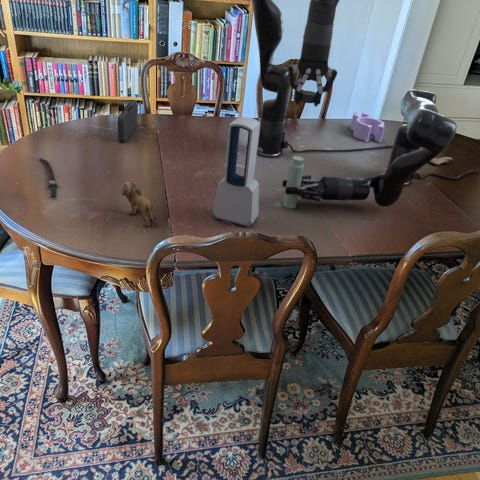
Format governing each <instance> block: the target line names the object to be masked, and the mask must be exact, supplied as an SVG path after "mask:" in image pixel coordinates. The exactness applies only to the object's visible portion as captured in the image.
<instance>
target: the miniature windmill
mask: <svg viewBox="0 0 480 480" xmlns="http://www.w3.org/2000/svg"><path fill="white" fill-rule="evenodd" d="M299 61H300V59H299ZM299 61H298V62H299ZM288 65H289V64H286V66H285V68H288ZM299 73H300V71H299V69H297V70H296V73H294V82H295V84H297V83H298V81H299V79H298V77H299ZM291 90H293V89H292V88H291ZM295 91H296V90H295V89H294V92H295ZM294 98H295V94H294V95H293V94H290V97H289V100H294ZM288 106H291V107H287V109H286V110H294V111H293V115H292V114H291V115H290V114H286V116H285V117H292V118H293V120H292V119H286V118H285V122H286V121H287V122H293V130H294V131H295V130H296V125H298V105H297V104H296V102H295V101H294V104H291V103H290V104H289V103H288ZM292 107H294V108H292Z"/></svg>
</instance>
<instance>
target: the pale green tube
mask: <svg viewBox="0 0 480 480" xmlns="http://www.w3.org/2000/svg"><path fill="white" fill-rule="evenodd" d="M304 162H305V158H304V157H302V156H298V155H294V156H293V157H292V160H291V162H290V164H289V169H288V173H287V179H286V180H287V185H286V187H298V189H299V187H300V184H301V179H302V176H303V175H304V170H305V169H304V168H305V164H304ZM286 187H285V188H286ZM298 198H299V196H298V195H295V194H286V193H285V192H284V196H283V202H282V206H283V207H284V208H286V209H295V208H296V207H297V204H298Z"/></svg>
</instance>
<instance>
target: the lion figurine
mask: <svg viewBox="0 0 480 480" xmlns="http://www.w3.org/2000/svg"><path fill="white" fill-rule="evenodd" d="M119 193H120V194H121V196H122V197H124V196H125V198H126V199H127V200H128V202H129V203H130V207H131V211H130V212H129V213H130V215H135V214H136V211H137V212H141V214H142V216H143V218H144V219H145V223H144V225H145V227H149V226H150V221H152V223H153V225H155V226H159V222H156V221H155V219H154V217H153V216H154V215H153V204H152V202H151V200H150V199H148V198H146V197H145V196H144V195H143V194H142V192H141V190H140V187H138V185H136V184H135V183H133V182H132V181H125V182H124V186H122V188H121V189H119ZM136 207H137V208H136ZM148 214H149V216H148Z"/></svg>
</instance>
